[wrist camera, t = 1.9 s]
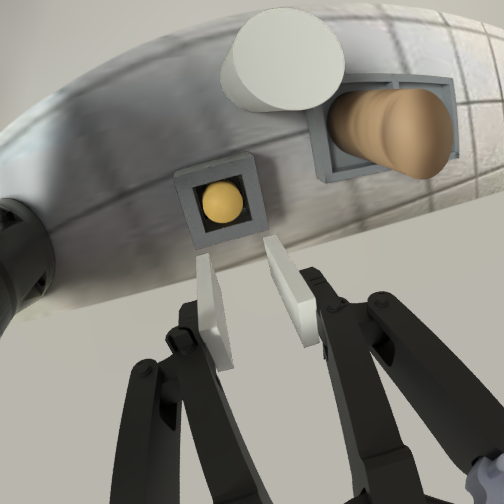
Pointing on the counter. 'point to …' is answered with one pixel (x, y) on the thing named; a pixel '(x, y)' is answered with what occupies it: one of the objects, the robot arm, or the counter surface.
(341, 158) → the grey divided tray
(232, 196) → the button
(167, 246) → the counter surface
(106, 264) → the counter surface
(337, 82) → the white stubby cylinder
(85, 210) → the counter surface
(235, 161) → the grey square holder
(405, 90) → the ball
